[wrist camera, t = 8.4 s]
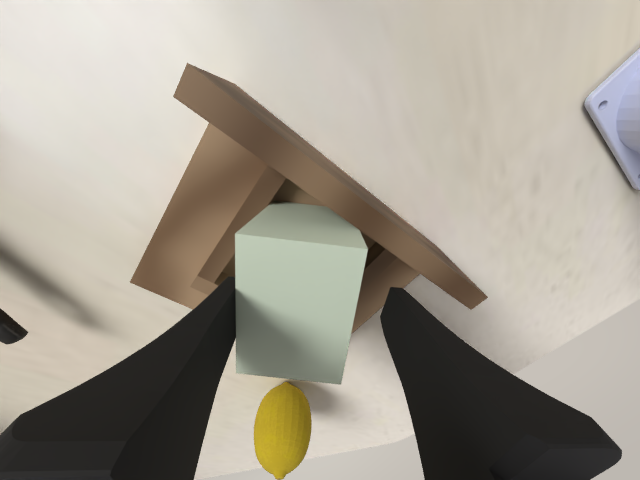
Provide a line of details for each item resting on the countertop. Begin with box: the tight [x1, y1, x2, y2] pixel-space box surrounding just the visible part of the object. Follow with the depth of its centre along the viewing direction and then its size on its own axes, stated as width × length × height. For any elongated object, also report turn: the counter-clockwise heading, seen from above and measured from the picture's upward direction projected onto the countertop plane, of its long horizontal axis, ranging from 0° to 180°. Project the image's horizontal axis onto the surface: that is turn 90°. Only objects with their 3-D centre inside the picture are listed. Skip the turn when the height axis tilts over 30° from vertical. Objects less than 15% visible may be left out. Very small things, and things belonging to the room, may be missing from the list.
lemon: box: [254, 382, 311, 480], centre depth 23 cm, size 6×6×8 cm
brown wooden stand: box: [130, 63, 488, 334], centre depth 16 cm, size 18×16×6 cm
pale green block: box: [235, 200, 368, 384], centre depth 13 cm, size 5×8×7 cm, turn 174°
